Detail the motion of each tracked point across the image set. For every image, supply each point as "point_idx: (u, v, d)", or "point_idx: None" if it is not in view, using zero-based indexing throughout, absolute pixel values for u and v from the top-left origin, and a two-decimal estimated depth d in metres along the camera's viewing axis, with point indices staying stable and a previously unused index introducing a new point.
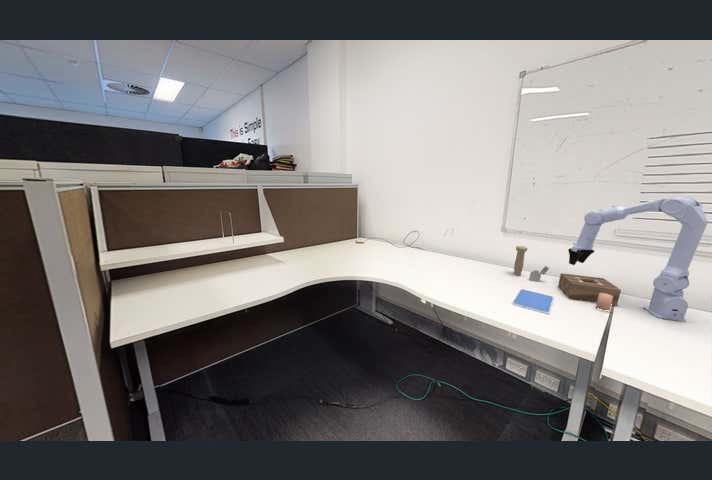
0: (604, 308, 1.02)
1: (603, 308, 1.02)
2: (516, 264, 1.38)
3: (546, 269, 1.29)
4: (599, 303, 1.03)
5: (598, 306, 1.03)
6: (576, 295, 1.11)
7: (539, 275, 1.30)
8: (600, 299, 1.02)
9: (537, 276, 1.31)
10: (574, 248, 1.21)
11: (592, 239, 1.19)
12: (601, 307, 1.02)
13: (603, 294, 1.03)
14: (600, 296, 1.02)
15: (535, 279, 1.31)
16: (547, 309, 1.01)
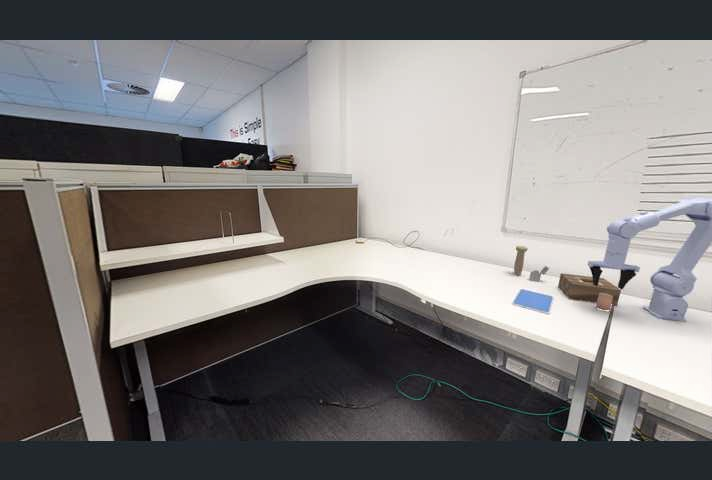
0: (604, 308, 1.02)
1: (603, 308, 1.02)
2: (516, 264, 1.38)
3: (546, 269, 1.29)
4: (599, 303, 1.03)
5: (598, 306, 1.03)
6: (576, 295, 1.11)
7: (539, 275, 1.30)
8: (600, 299, 1.02)
9: (537, 276, 1.31)
10: None
11: None
12: (601, 307, 1.02)
13: (603, 294, 1.03)
14: (600, 296, 1.02)
15: (535, 279, 1.31)
16: (547, 309, 1.01)
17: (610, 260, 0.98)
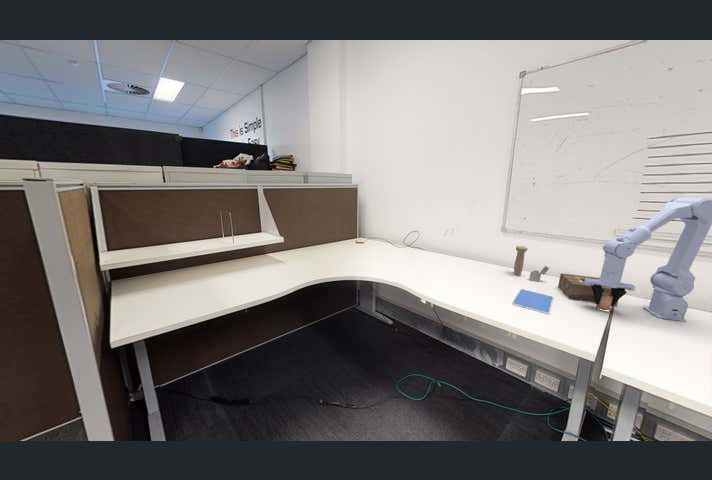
0: (604, 308, 1.02)
1: (603, 308, 1.02)
2: (516, 264, 1.38)
3: (546, 269, 1.29)
4: (599, 303, 1.03)
5: (598, 306, 1.03)
6: (576, 295, 1.11)
7: (539, 275, 1.30)
8: (600, 299, 1.02)
9: (537, 276, 1.31)
10: None
11: None
12: (601, 307, 1.02)
13: (603, 294, 1.03)
14: None
15: (535, 279, 1.31)
16: (547, 309, 1.01)
17: (606, 279, 0.99)
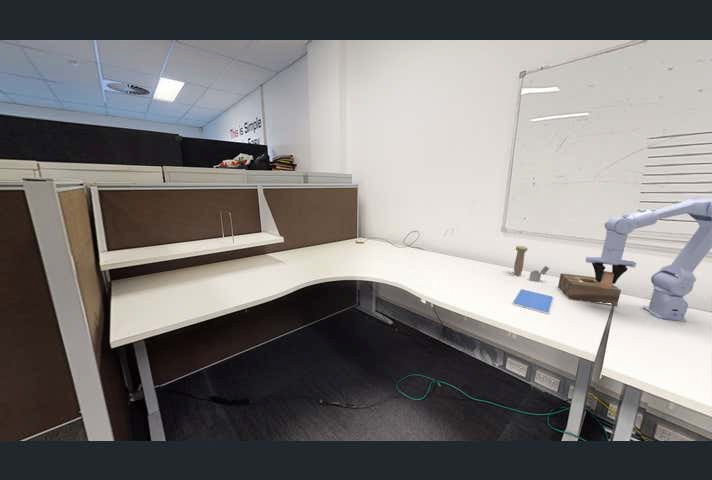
0: (605, 285, 1.02)
1: (604, 285, 1.02)
2: (516, 264, 1.38)
3: (546, 269, 1.29)
4: (601, 280, 1.03)
5: (599, 284, 1.03)
6: (576, 295, 1.11)
7: (539, 275, 1.30)
8: None
9: (537, 276, 1.31)
10: None
11: None
12: (602, 285, 1.03)
13: (604, 272, 1.03)
14: None
15: (535, 279, 1.31)
16: (547, 309, 1.01)
17: (607, 256, 1.00)
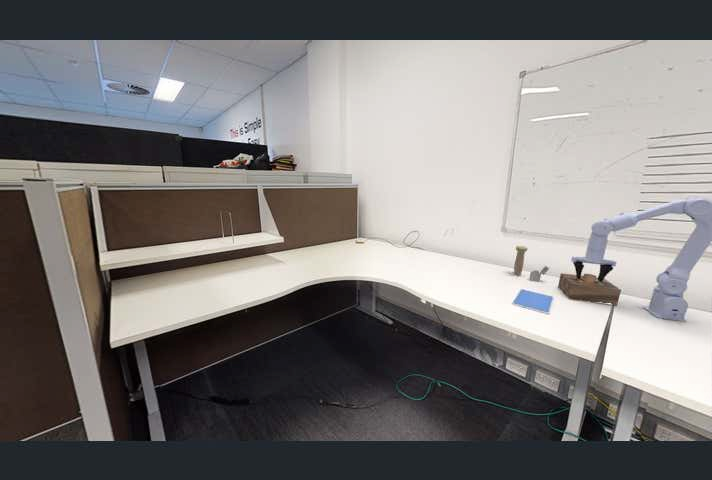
0: None
1: None
2: (516, 264, 1.38)
3: (546, 269, 1.29)
4: None
5: None
6: (576, 295, 1.11)
7: (539, 275, 1.30)
8: (584, 279, 1.14)
9: (537, 276, 1.31)
10: None
11: None
12: None
13: (587, 274, 1.14)
14: (584, 276, 1.14)
15: (535, 279, 1.31)
16: (547, 309, 1.01)
17: (590, 255, 1.10)
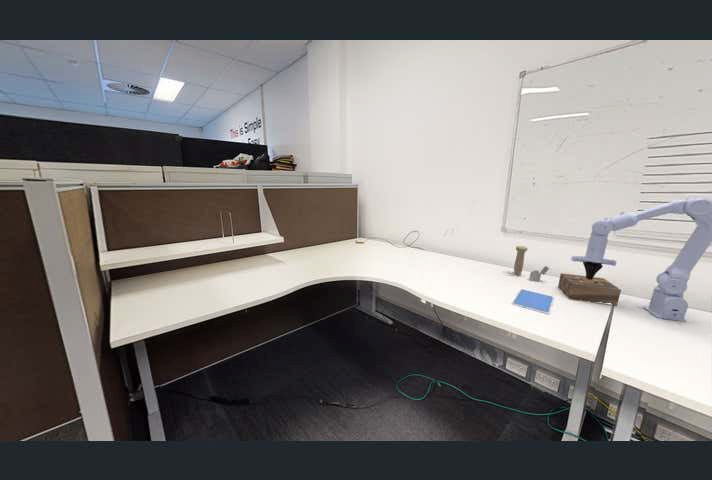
0: None
1: None
2: (516, 264, 1.38)
3: (546, 269, 1.29)
4: None
5: None
6: (576, 295, 1.11)
7: (539, 275, 1.30)
8: None
9: (537, 276, 1.31)
10: None
11: None
12: None
13: (586, 278, 1.14)
14: (584, 280, 1.14)
15: (535, 279, 1.31)
16: (547, 309, 1.01)
17: (591, 255, 1.10)
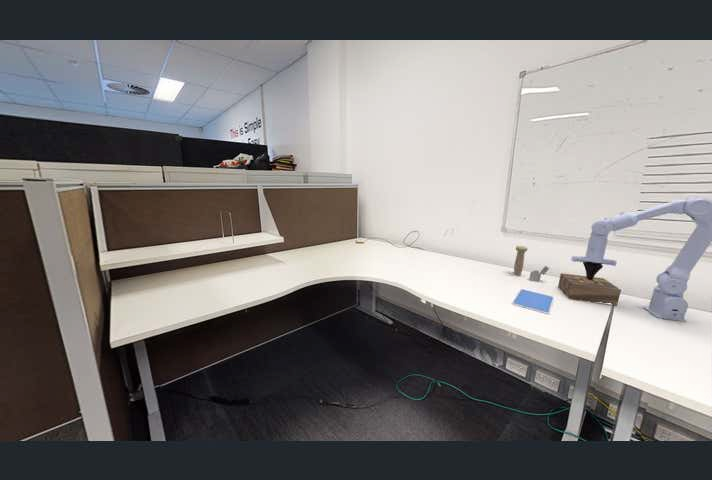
0: None
1: None
2: (516, 264, 1.38)
3: (546, 269, 1.29)
4: None
5: None
6: (576, 295, 1.11)
7: (539, 275, 1.30)
8: None
9: (537, 276, 1.31)
10: None
11: None
12: None
13: (586, 280, 1.15)
14: None
15: (535, 279, 1.31)
16: (547, 309, 1.01)
17: (591, 255, 1.10)
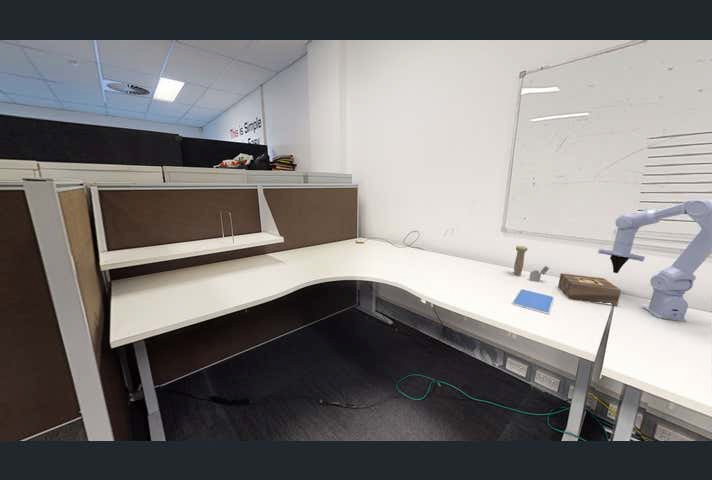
0: None
1: None
2: (516, 264, 1.38)
3: (546, 269, 1.29)
4: None
5: None
6: (576, 295, 1.11)
7: (539, 275, 1.30)
8: None
9: (537, 276, 1.31)
10: (644, 258, 1.10)
11: None
12: None
13: (586, 280, 1.15)
14: None
15: (535, 279, 1.31)
16: (547, 309, 1.01)
17: (614, 248, 1.16)
